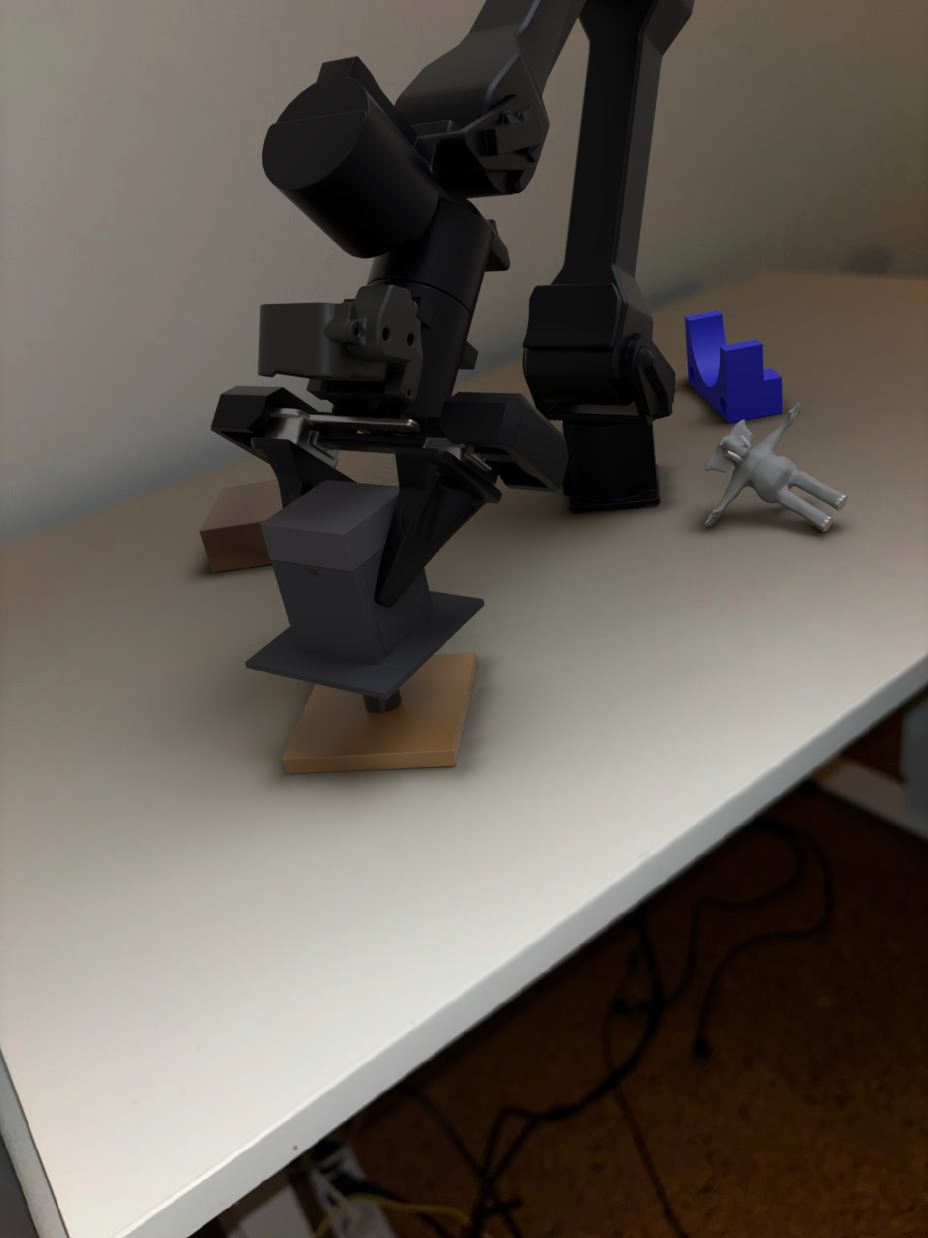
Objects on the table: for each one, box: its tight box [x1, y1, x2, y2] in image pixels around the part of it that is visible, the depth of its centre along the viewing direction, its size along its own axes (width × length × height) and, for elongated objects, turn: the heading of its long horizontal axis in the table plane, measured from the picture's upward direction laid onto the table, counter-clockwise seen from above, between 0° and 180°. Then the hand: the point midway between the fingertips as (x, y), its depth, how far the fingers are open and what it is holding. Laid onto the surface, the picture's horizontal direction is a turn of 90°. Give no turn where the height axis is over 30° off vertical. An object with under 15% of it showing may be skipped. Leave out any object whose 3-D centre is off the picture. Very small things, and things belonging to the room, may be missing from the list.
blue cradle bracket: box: [684, 309, 784, 424], centre depth 88 cm, size 12×4×6 cm, turn 5°
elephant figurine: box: [704, 402, 849, 533], centre depth 67 cm, size 10×6×9 cm
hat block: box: [198, 479, 282, 574], centre depth 78 cm, size 8×8×4 cm
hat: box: [244, 480, 485, 700], centre depth 51 cm, size 9×9×8 cm
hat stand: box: [281, 651, 479, 775], centre depth 54 cm, size 9×9×9 cm
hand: (337, 597), depth 51 cm, fingers closed on hat, 5 cm apart
